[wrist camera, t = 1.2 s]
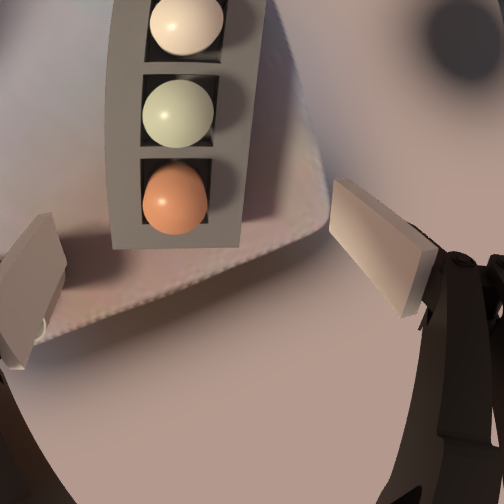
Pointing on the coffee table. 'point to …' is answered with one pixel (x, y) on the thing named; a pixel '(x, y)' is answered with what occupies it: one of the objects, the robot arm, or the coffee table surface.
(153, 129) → the pale green egg
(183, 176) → the orange egg
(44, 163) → the coffee table surface
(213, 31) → the cream ball
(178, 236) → the grey socket tray
